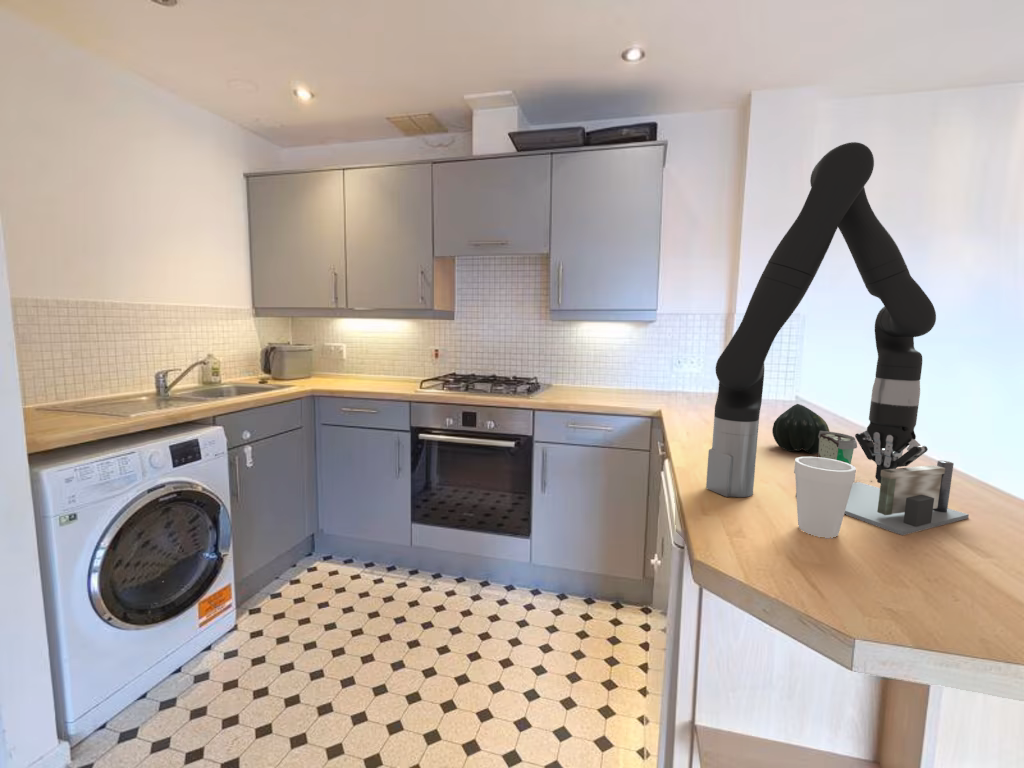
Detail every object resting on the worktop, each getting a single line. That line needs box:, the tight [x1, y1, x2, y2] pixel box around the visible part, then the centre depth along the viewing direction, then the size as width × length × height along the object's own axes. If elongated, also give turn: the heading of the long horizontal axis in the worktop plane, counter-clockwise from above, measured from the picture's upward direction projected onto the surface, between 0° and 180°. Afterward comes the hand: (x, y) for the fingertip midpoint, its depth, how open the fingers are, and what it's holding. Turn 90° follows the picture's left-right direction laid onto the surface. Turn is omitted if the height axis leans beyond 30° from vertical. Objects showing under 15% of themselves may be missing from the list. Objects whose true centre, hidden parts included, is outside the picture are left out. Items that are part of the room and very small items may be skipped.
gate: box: [877, 464, 945, 515], centre depth 94 cm, size 14×2×9 cm, turn 106°
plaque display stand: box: [844, 460, 970, 536], centre depth 100 cm, size 22×21×11 cm
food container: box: [817, 431, 858, 465], centre depth 123 cm, size 12×6×10 cm, turn 168°
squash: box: [771, 403, 831, 455], centre depth 146 cm, size 14×15×15 cm
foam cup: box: [793, 456, 857, 539], centre depth 87 cm, size 10×9×13 cm
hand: (884, 483), depth 97 cm, fingers closed
